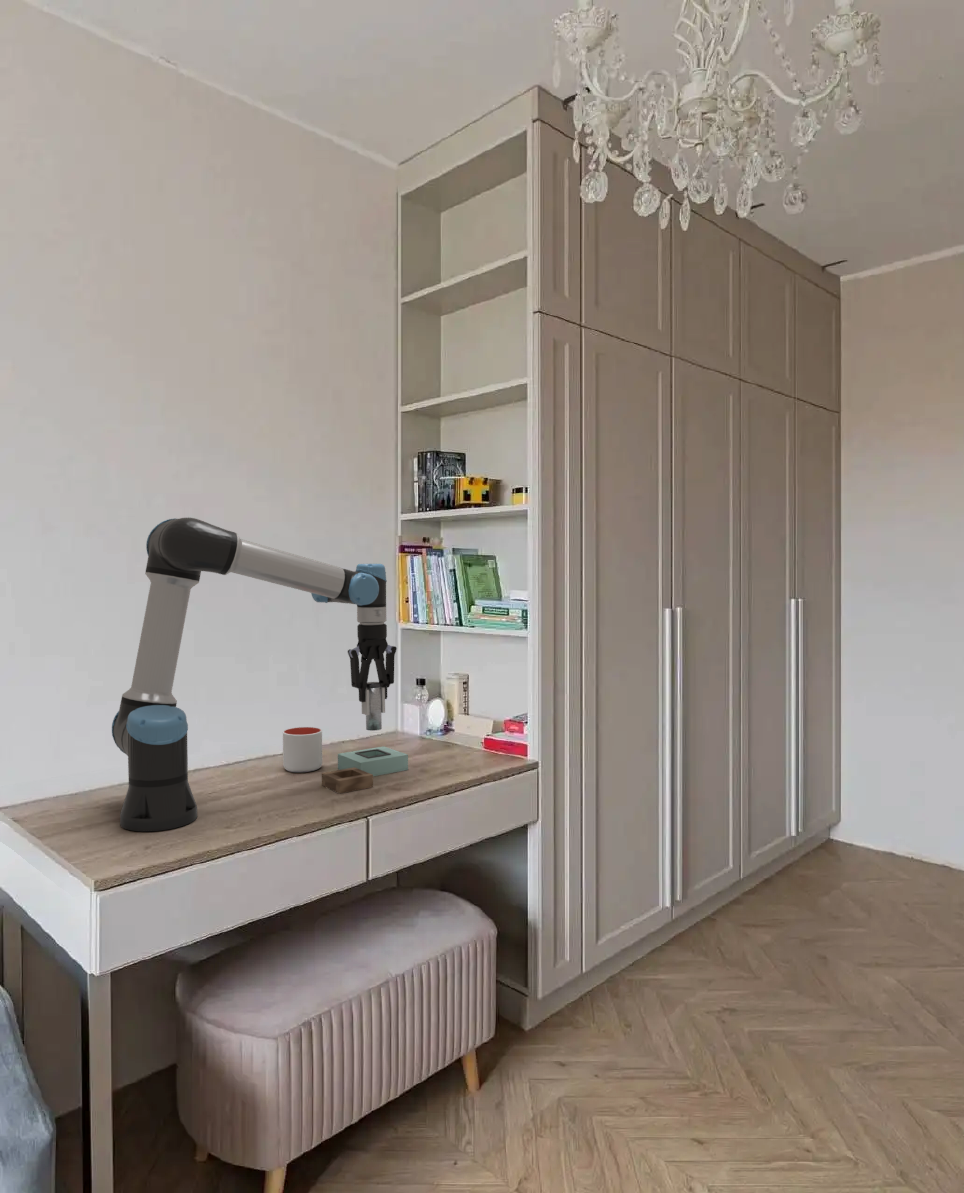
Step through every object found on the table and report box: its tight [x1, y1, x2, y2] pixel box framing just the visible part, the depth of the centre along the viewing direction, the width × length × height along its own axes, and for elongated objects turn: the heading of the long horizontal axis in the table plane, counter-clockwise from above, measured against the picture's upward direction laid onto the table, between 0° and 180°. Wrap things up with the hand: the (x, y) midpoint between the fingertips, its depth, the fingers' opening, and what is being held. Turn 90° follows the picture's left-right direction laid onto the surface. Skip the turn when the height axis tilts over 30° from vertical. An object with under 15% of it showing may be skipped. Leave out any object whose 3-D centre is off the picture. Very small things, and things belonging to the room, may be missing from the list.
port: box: [337, 746, 409, 777], centre depth 219 cm, size 14×12×4 cm
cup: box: [282, 726, 323, 773], centre depth 219 cm, size 10×10×10 cm
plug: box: [365, 681, 383, 732], centre depth 218 cm, size 4×4×12 cm
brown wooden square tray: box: [321, 767, 374, 794], centre depth 203 cm, size 9×9×3 cm
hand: (373, 712), depth 218 cm, fingers closed on plug, 4 cm apart
